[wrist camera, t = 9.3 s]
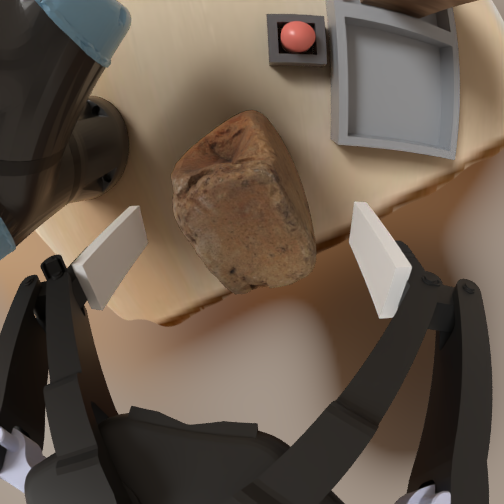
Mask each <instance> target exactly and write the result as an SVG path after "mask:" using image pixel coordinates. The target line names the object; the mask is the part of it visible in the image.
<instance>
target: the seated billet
mask: <svg viewBox="0 0 504 504" xmlns="http://www.w3.org/2000/svg"><path fill="white" fill-rule="evenodd" d="M473 1H477V0H360V3H362V4H367V5H372V6H376V7H380V8H384V9H388V10H392V11H396V12H399V13H403V14H406V15H409V16H412V17H415V18H418V19H419V18H422V17H425V16H427V15H430V14H433V13H436V12H439V11H442V10H445V9H448V8H451V7H455V6H458V5H462V4H465V3H469V2H473Z"/></svg>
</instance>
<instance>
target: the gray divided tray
mask: <svg viewBox="0 0 504 504" xmlns="http://www.w3.org/2000/svg"><path fill="white" fill-rule="evenodd" d="M326 9H327V19H328V32H329V48H330V71H331V140H333V141H334V142H335V143H337V144H338V145H350V146H362V147H373V148H382V149H391V150H399V151H406V152H413V153H419V154H425V155H431V156H437V157H442V158H447V159H452V160H455V154H456V146H457V137H458V126H459V109H460V68H459V52H458V41H457V33H456V25H455V19H454V13H453V8H452V7H451V8H448V9H445V10H442V11H439V12H436V13H433V14H430V15H427V16H425V17H422V18H419V19H418V18H415V17H412V16H409V15H406V14H403V13H399V12H396V11H392V10H388V9H384V8H380V7H376V6H372V5H367V4H362V3H360V0H326Z"/></svg>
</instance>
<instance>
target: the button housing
mask: <svg viewBox="0 0 504 504" xmlns="http://www.w3.org/2000/svg"><path fill="white" fill-rule="evenodd" d="M292 21H301V22H304V23H307V24H308V25H310V26H311V27H312V28H313V30H314V32H315V41H314V43H313V44H312V48H313V55H307V54H279V49H278V32H277V28H283V27H284V26H285V25H286V24H287V23H289V22H292ZM267 28H268V45H269V64H270V66H313V67H323V66H325V65H326V64H327V53H326V36H325V22H324V16H313V15H296V14H267Z"/></svg>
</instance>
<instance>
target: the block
mask: <svg viewBox="0 0 504 504" xmlns="http://www.w3.org/2000/svg"><path fill="white" fill-rule="evenodd" d="M171 180H172V185H173V193H174V195H173V197H172V202H173V213H174V216H175V219H176V221H177V223H178V225H179V227H180V229H181V231H182V232H183V234H184V235H185V237H186V238H187V239H188V241H189V242H190V243H191V245H192V246H193V247H194V249H195V251H196V254H197V255H198V256H199V257H200V258H201V259H202V260H203V262H204V264H205V265H206V266H207V268H208V269H209V270H210V271H211V272H212V273H213V274H214V275H215V276H216V277H217V278H218V279H219V281H220V282H221V283H222V284H223V285H224V286H225V287H226V288H227V289H228V290H230V291H231V292H232V293H234V294H245V293H248V292H249V291H251V290H253V289H256V288H258V287H267V286H269V287H270V288H275V287H281V286H286V285H290V284H293V283H294V282H296V281H298V280H300V279H302V278H304V277H306V276H308V275H309V274H310V273H311V272H312V270H313V268H314V266H315V262H316V243H315V236H314V231H313V226H312V220H311V215H310V211H309V207H308V202H307V199H306V196H305V192H304V189H303V186H302V183H301V180H300V177H299V175H298V172H297V170H296V167H295V165H294V162H293V160H292V158H291V156H290V154H289V152H288V150H287V148H286V146H285V145H284V143H283V141H282V139H281V137H280V136H279V134H278V133H277V131H276V130H275V128H274V127H273V125H272V124H271V123H270V121H269V120H268V119H267V118H266V117H265V116H264V115H263V114H261V113H259V112H258V111H254V110H248V111H244V112H241V113H239V114H237V115H235V116H233V117H231V118H230V119H228V120H227V121H225V122H224V123H222V124H221V125H219V126H218V127H216V128H215V129H214V130H213V131H211V132H210V133H209V134H207V135H206V136H205V137H203V138H202V139H201V140H200V141H199V142H197V143H196V144H195V145H194V146H192V147H191V148H190V149H189V150H188V151H187V152H186V153H185V154H184V155H183V156H182V158H181V159H180V160H179V161H178V162H177V163H176V164H175V167H174V171H173V172H172V173H171Z"/></svg>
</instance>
